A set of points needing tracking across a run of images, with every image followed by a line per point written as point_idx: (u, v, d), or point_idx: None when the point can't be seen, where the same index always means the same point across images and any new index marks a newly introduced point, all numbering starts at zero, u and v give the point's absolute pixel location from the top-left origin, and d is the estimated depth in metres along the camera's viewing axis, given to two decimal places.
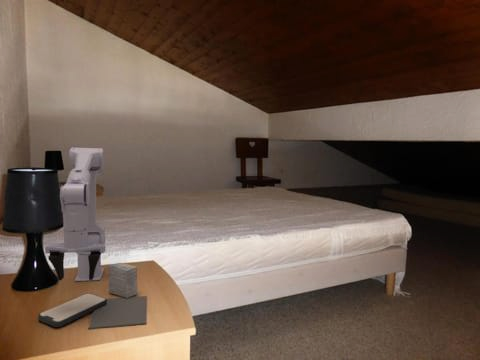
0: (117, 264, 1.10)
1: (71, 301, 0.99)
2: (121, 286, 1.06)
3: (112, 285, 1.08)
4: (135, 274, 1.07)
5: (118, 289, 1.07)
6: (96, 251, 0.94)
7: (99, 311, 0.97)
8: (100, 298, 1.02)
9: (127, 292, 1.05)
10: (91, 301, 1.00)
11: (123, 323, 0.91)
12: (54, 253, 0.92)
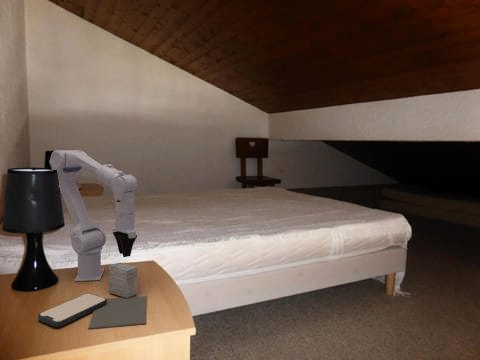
0: (117, 264, 1.10)
1: (71, 301, 0.99)
2: (121, 286, 1.06)
3: (112, 285, 1.08)
4: (135, 274, 1.07)
5: (118, 289, 1.07)
6: (128, 235, 1.08)
7: (99, 311, 0.97)
8: (100, 298, 1.02)
9: (127, 292, 1.05)
10: (91, 301, 1.00)
11: (123, 323, 0.91)
12: (118, 230, 1.15)
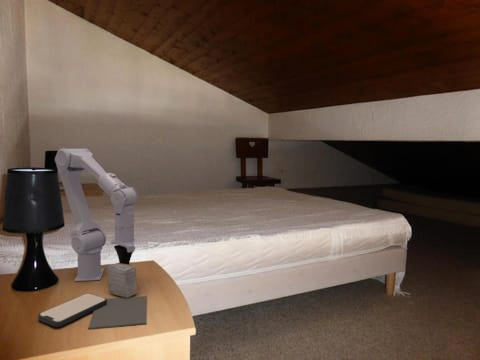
0: (115, 264, 1.09)
1: (71, 301, 0.99)
2: (120, 286, 1.06)
3: (112, 285, 1.08)
4: (134, 274, 1.07)
5: (117, 289, 1.07)
6: None
7: (99, 311, 0.97)
8: (100, 298, 1.02)
9: (127, 292, 1.05)
10: (91, 301, 1.00)
11: (123, 323, 0.91)
12: (120, 244, 1.13)
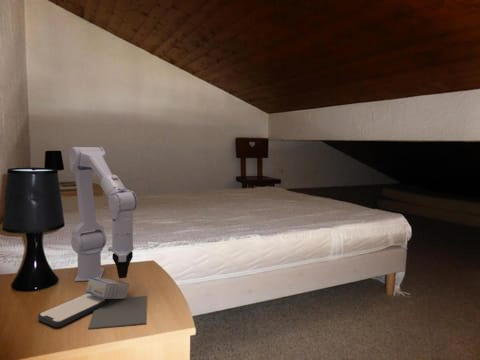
0: (89, 285, 1.02)
1: (71, 301, 0.99)
2: None
3: None
4: (112, 286, 1.00)
5: None
6: None
7: (99, 311, 0.97)
8: (100, 298, 1.02)
9: (122, 297, 1.04)
10: (91, 301, 1.00)
11: (123, 323, 0.91)
12: None
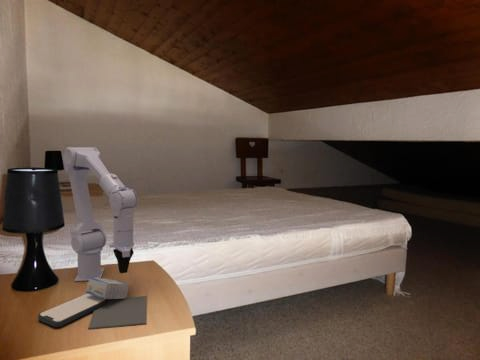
0: (89, 286, 1.01)
1: (71, 301, 0.99)
2: None
3: None
4: (113, 286, 1.00)
5: None
6: None
7: (99, 311, 0.97)
8: (100, 298, 1.02)
9: (122, 297, 1.04)
10: (91, 301, 1.00)
11: (123, 323, 0.91)
12: None
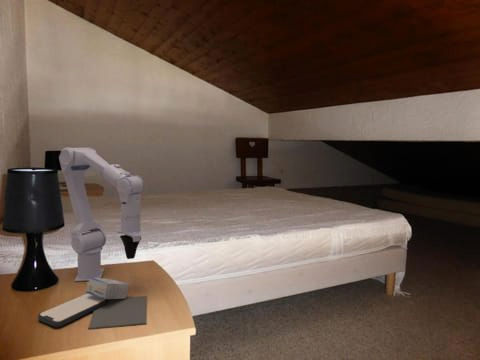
0: (89, 286, 1.01)
1: (71, 301, 0.99)
2: None
3: None
4: (113, 286, 1.00)
5: None
6: None
7: (99, 311, 0.97)
8: (100, 298, 1.02)
9: (122, 297, 1.04)
10: (91, 301, 1.00)
11: (123, 323, 0.91)
12: None
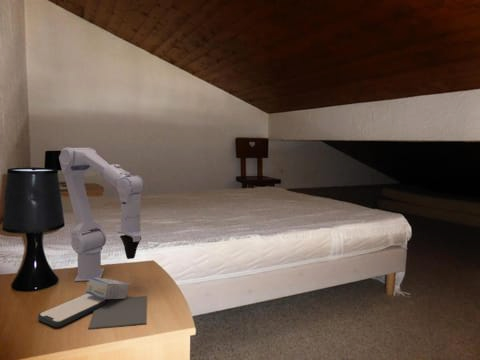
0: (90, 286, 1.01)
1: (71, 301, 0.99)
2: None
3: None
4: (113, 286, 1.00)
5: None
6: None
7: (99, 311, 0.97)
8: (100, 298, 1.02)
9: (122, 297, 1.04)
10: (91, 301, 1.00)
11: (123, 323, 0.91)
12: None
